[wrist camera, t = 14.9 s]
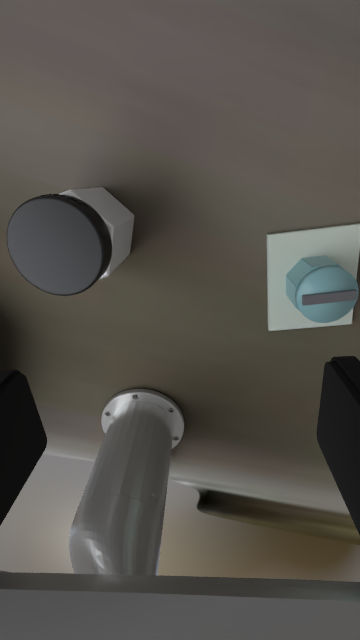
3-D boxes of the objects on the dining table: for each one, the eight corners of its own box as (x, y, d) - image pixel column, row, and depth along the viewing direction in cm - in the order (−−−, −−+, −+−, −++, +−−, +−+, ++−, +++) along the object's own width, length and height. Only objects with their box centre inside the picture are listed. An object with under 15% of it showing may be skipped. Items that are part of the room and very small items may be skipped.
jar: (120, 177, 33) (81, 176, 23) (147, 249, 37) (124, 279, 26) (49, 205, 35) (-20, 217, 24) (81, 271, 38) (32, 308, 27)
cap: (340, 253, 35) (363, 265, 30) (337, 302, 37) (358, 321, 32) (285, 260, 35) (299, 273, 30) (286, 308, 38) (298, 327, 33)
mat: (349, 321, 39) (351, 323, 38) (268, 328, 40) (269, 331, 39) (359, 223, 34) (362, 223, 33) (266, 234, 35) (267, 235, 34)
